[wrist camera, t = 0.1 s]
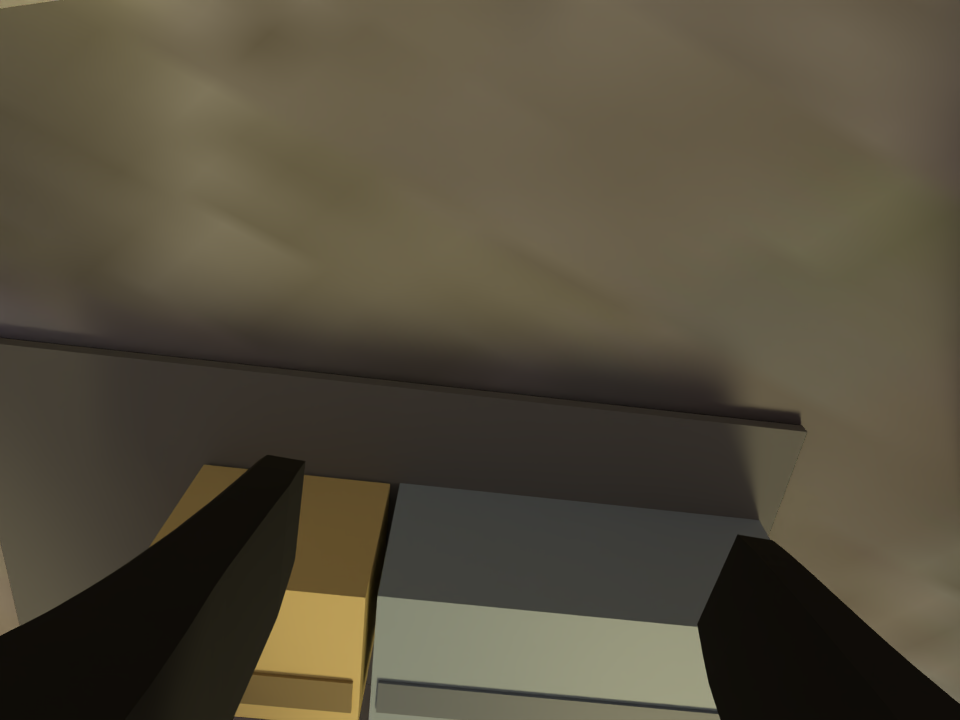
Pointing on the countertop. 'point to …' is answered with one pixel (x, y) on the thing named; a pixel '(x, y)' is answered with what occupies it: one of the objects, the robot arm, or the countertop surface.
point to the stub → (315, 598)
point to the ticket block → (544, 609)
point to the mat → (323, 451)
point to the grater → (20, 2)
